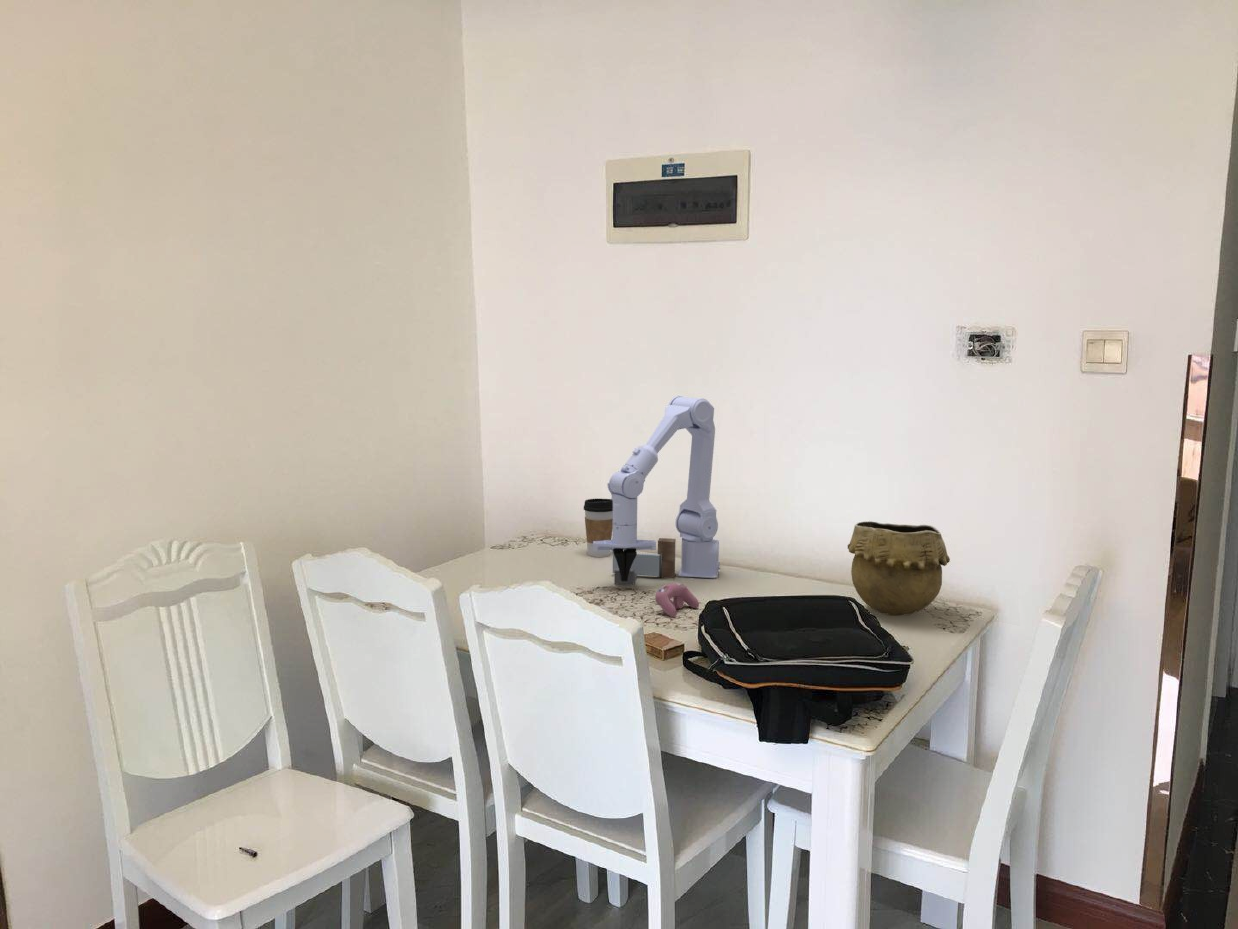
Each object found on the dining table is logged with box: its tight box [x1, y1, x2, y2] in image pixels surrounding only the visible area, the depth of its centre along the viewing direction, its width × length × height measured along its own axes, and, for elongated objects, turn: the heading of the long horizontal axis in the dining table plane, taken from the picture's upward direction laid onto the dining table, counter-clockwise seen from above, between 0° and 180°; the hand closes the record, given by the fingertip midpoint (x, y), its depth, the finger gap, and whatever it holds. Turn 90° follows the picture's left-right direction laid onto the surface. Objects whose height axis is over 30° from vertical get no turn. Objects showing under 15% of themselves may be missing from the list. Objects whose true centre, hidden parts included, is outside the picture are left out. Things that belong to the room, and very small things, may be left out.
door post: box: [657, 537, 677, 579], centre depth 236 cm, size 4×5×9 cm
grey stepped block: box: [613, 568, 638, 586], centre depth 232 cm, size 4×7×4 cm, turn 172°
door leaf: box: [612, 552, 660, 578], centre depth 236 cm, size 12×2×5 cm, turn 76°
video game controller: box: [654, 582, 700, 618], centre depth 208 cm, size 10×5×7 cm, turn 141°
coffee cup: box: [583, 498, 613, 558], centre depth 257 cm, size 8×8×15 cm
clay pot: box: [847, 520, 951, 617], centre depth 207 cm, size 21×21×20 cm
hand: (624, 580), depth 225 cm, fingers closed
